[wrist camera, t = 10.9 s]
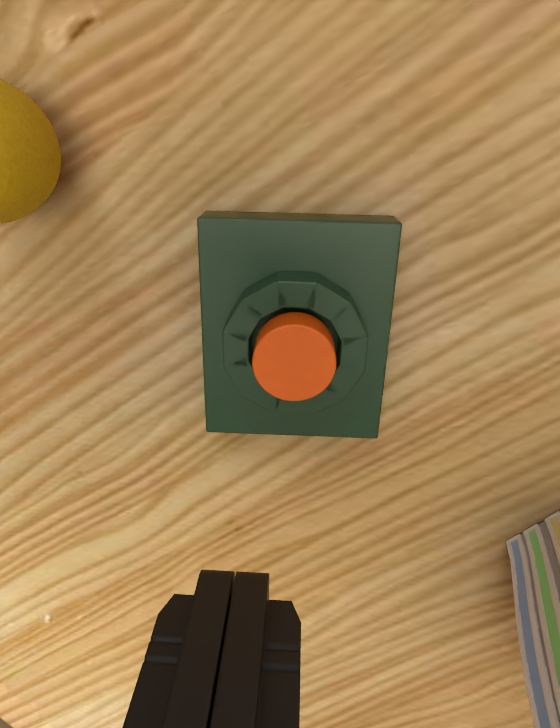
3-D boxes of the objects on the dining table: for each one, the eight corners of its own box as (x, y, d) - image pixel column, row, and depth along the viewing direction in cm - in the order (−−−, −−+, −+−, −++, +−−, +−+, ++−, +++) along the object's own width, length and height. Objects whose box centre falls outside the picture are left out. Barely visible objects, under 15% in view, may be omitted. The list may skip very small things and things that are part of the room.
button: (255, 309, 23) (251, 323, 21) (336, 312, 23) (339, 325, 21) (255, 382, 24) (251, 400, 23) (331, 385, 24) (333, 403, 23)
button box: (205, 210, 25) (188, 224, 21) (394, 215, 25) (410, 230, 21) (212, 412, 29) (199, 451, 26) (372, 417, 29) (382, 458, 25)
